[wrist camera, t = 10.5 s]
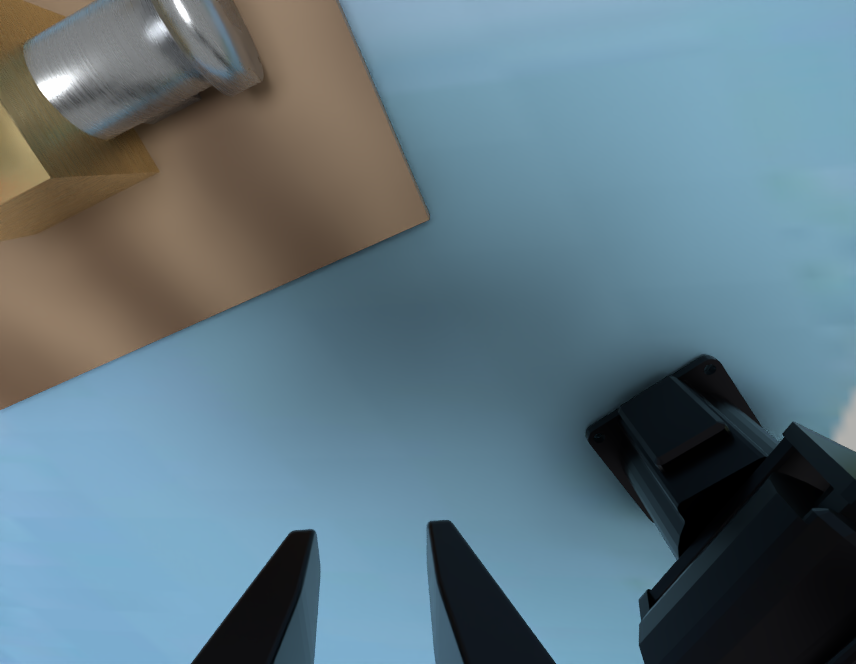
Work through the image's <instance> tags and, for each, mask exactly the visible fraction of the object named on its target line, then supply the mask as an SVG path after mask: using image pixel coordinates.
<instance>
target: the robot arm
mask: <svg viewBox="0 0 856 664" xmlns="http://www.w3.org/2000/svg"><path fill="white" fill-rule="evenodd" d="M710 364H711V367H710V369H709V370H707V371H704V368H705V367H706V366H707V365H710ZM598 433H602V435H601V436H600V437H599V438H594V436H595V435H596V434H598ZM782 435H783V436H784V438H783V439H782V441H781V442H778V441H777V440H776V439H775V438H774V437H772V436H771V435H770V434H769V433H768V432H766V431H765V430H764V429H763V428H762V426H761V425H760V423H759V421H758V420H757V418H756V417H755V415H754V414H753V412H752V411H751V409H750V408H749V406H748V404H747V403H746V401H745V400H744V398H743V397H742V395H741V394H740V392H739V391H738V389H737V387H736V386H735V384H734V383H733V381H732V380H731V378H730V377H729V375H728V374H727V372H726V370H725V369H724V367H723V366H722V364H721V363H720V362H719V361H718V360H717V359H715V358H714V357H712V356H709V355H707V356H702V357H700V358H698V359H697V360H695V361H693V362H692V363H690V364H689V365H687V366H685V367H684V368H682V369H681V370H679V371H677V372H676V373H674V374H673V375H671V376H669V377H666V378H664V379H663V380H661V381H660V382H658V383H656V384H655V385H653V386H652V387H650V388H648V389H647V390H645V391H644V392H642V393H640V394H639V395H637V396H636V397H634V398H632V399H631V400H629V401H628V402H626V403H625V404H623V405H621V406H620V408H618V409H617V410H615V411H614V412H612V413H610V414H609V415H607V416H606V417H604V418H603V419H601V420H599V421H598V422H596V423H595V424H593V425H591V426H590V427H589V428H588V429H587V431H586V438H587V440H588V442H589V443H590V445H591V446H592V447H593V449H594V450H595V451H596V452H597V454H598V455H599V456H600V457H601V459H602V460H603V461H604V463H605V464H606V465H607V466H608V468H609V469H610V470H611V471H612V473H613V474H614V475H615V476H616V478H617V479H618V480H619V481H620V483H621V484H622V485H623V486H624V488H625V489H626V490H627V492H628V493H629V494H630V495H631V497H632V498H633V499H634V500H635V502H636V503H637V504H638V505H639V507H640V508H641V509H642V510H643V512H644V513H645V514H646V516H647V517H648V518H649V519H650V521H652V522H653V523H655V525H656V526H657V528H658V530H659V531H660V533H661V535H662V536H663V538H664V540H665V541H666V543H667V545H668V546H669V548H670V550H671V551H672V553H673V555H674V556H675V558H676V560H677V561H676V562H675V563H674V564H673V566H672V567H671V568H670V569H669V570H668V571H667V573H666V574H665V575H664V576H663V577H662V578H661V579H660V581H659V582H658V583H657V584H656V585H655V586H654V587H653V589H652V590H650V589H648V590H646V592H645V593H644V594H643V595H642V596H641V597H640V599H639V607H640V616H641V622H640V624H639V647H640V650H641V654H642V657H643V660H644V664H856V452H855V451H852V450H850V449H848V448H847V447H845V446H842V445H840V444H838V443H836V442H834V441H832V440H830V439H828V438H826V437H824V436H822V435H820V434H818V433H816V432H814V431H812V430H810V429H808V428H806V427H804V426H802V425H800V424H798V423H796V422H792V423H791V424H790V426H789V427H788V428H787V429H786V430H785V431H784V432H783V434H782ZM427 571H428V584H429V596H430V608H431V620H432V632H433V644H434V654H435V662H436V664H556V663H555V662H554V660H553V659H552V657H551V656H550V655H549V653H548V652H547V651H546V649H545V648H544V647H543V645H542V644H541V643H540V641H539V640H538V638H537V637H536V636H535V634H534V633H533V632H532V630H531V629H530V628H529V626H528V625H527V624H526V622H525V621H524V619H523V618H522V617H521V615H520V614H519V613H518V611H517V610H516V609H515V607H514V606H513V605H512V603H511V602H510V600H509V599H508V598H507V596H506V595H505V594H504V592H503V591H502V590H501V588H500V587H499V585H498V584H497V583H496V581H495V580H494V579H493V577H492V576H491V575H490V573H489V572H488V571H487V569H486V568H485V566H484V565H483V564H482V562H481V561H480V560H479V558H478V557H477V556H476V554H475V553H474V552H473V550H472V549H471V547H470V546H469V545H468V543H467V542H466V541H465V539H464V538H463V537H462V535H461V534H460V533H459V531H458V530H457V528H456V527H455V526H454V524H453V523H452V522H451V521H449V520H438V521H430V522H428V524H427ZM319 587H320V559H319V550H318V542H317V534H316V532H315V531H314V530H313V529H308V530H294V531H292V532H290V533H289V534H288V536H287V537H286V538H285V540H284V541H283V542H282V544H281V545H280V546H279V548H278V549H277V550H276V552H275V553H274V554H273V556H272V557H271V558H270V560H269V561H268V562H267V564H266V565H265V566H264V567H263V569H262V570H261V571H260V573H259V574H258V575H257V577H256V578H255V579H254V581H253V582H252V583H251V585H250V586H249V587H248V589H247V590H246V591H245V593H244V594H243V595H242V597H241V598H240V599H239V601H238V602H237V603H236V605H235V606H234V607H233V609H232V610H231V611H230V613H229V614H228V615H227V617H226V618H225V619H224V621H223V622H222V623H221V625H220V626H219V627H218V629H217V630H216V631H215V632H214V634H213V635H212V636H211V638H210V639H209V640H208V642H207V643H206V644H205V646H204V647H203V648H202V650H201V651H200V652H199V654H198V655H197V656H196V658H195V659H194V660H193V662H192V663H191V664H314V656H315V642H316V628H317V615H318V601H319Z"/></svg>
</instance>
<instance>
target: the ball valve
mask: <svg viewBox="0 0 856 664" xmlns="http://www.w3.org/2000/svg"><path fill="white" fill-rule="evenodd" d="M263 77H264V74H263V68H262V64H261V60H260V57H259V54H258V52H257V49H256V47H255V44H254V42H253V40H252V37H251V35H250V33H249V31H248V29H247V27H246V25H245V23H244V21H243V19H242V17H241V15H240V13H239V11H238V9H237V8H236V6H235V4H234V2H233V0H95V1H93V2H91V3H90V4H88V5H86V6H85V7H83V8H81V9H79V10H78V11H76V12H74V13H73V14H71V15H69V16H67V17H66V16H63V15H60V14H58V13H55V12H52V11H50V10H47V9H44V8H42V7H39V6H36V5H34V4H31V3H29V2H26V1H23V0H0V242H1V241H6V240H11V239H16V238H21V237H26V236H31V235H36V234H38V233H40V232H42V231H44V230H46V229H48V228H50V227H52V226H54V225H56V224H58V223H60V222H62V221H64V220H66V219H68V218H70V217H72V216H74V215H76V214H78V213H80V212H82V211H84V210H86V209H88V208H90V207H92V206H93V205H95V204H97V203H99V202H101V201H103V200H105V199H107V198H109V197H111V196H113V195H115V194H117V193H119V192H121V191H123V190H125V189H127V188H129V187H131V186H133V185H135V184H137V183H139V182H141V181H143V180H145V179H147V178H149V177H151V176H153V175H155V174H157V173H159V172H160V171H159V170H158V168H157V166H156V165H155V163H154V161H153V160H152V158H151V156H150V154H149V153H148V151H147V149H146V148H145V146H144V144H143V143H142V141H141V139H140V138H139V136H138V134H137V133H136V131H135V129H134V128H133V127H135V126H137V125H139V124H141V123H145V124H153V125H154V124H155V123H157V122H159V121H161V120H163V119H165V118H167V117H169V116H171V115H173V114H174V113H176V112H178V111H180V110H182V109H184V108H186V107H188V106H190V105H192V104H193V103H195V102H197V101H199V100H201V99H202V98H201V96H200V94H199V92H201V91H203V90H205V89H207V88H209V87H211V86H213V87H214V88H216V89H217V90H218V91H220V92H221V93H223V94H224V95H227V96H230V97H232V96H235V95H237V94H239V93H241V92H242V91H244V90H246V89H248V88H250V87H252V86H254V85H256V84H258V83H260V82H262V80H263Z"/></svg>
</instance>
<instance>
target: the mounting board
mask: <svg viewBox="0 0 856 664" xmlns="http://www.w3.org/2000/svg"><path fill="white" fill-rule="evenodd" d="M23 1H26V2H29V3H31V4H34V5H36V6H39V7H42V8H44V9H47V10H50V11H52V12H55V13H58V14H60V15H63V16H66V17H67V16H69V15H71V14H73V13H74V12H76V11H78V10H79V9H81V8H83V7H85V6H86V5H88V4H90V3H91V2H93V1H95V0H23ZM233 2H234V4H235V6H236V8H237V9H238V11H239V13H240V15H241V17H242V19H243V21H244V23H245V25H246V27H247V29H248V31H249V33H250V35H251V37H252V40H253V42H254V44H255V47H256V49H257V52H258V54H259V57H260V60H261V64H262V68H263V74H264V77H263V80H262V82H260V83H258V84H256V85H254V86H252V87H250V88H248V89H246V90H244V91H242V92H241V93H239V94H237V95H235V96H232V97H230V96H227V95H224V94H223V93H221V92H220V91H218V90H217V89H216V88H214V87H213V86H211V87H209V88H207V89H205V90H203V91H201V92H199V94H200V96H201V98H202V99H201V100H199V101H197V102H195V103H193V104H192V105H190V106H188V107H186V108H184V109H182V110H180V111H178V112H176V113H174V114H173V115H171V116H169V117H167V118H165V119H163V120H161V121H159V122H157V123H155V124H154V125H153V124H145V123H141V124H139V125H137V126H135V127H133V128H134V129H135V131H136V133H137V134H138V136H139V138H140V139H141V141H142V143H143V144H144V146H145V148H146V149H147V151H148V153H149V154H150V156H151V158H152V160H153V161H154V163H155V165H156V166H157V168H158V170H159V171H160V172H159V173H157V174H155V175H153V176H151V177H149V178H147V179H145V180H143V181H141V182H139V183H137V184H135V185H133V186H131V187H129V188H127V189H125V190H123V191H121V192H119V193H117V194H115V195H113V196H111V197H109V198H107V199H105V200H103V201H101V202H99V203H97V204H95V205H93V206H92V207H90V208H88V209H86V210H84V211H82V212H80V213H78V214H76V215H74V216H72V217H70V218H68V219H66V220H64V221H62V222H60V223H58V224H56V225H54V226H52V227H50V228H48V229H46V230H44V231H42V232H40V233H38V234H36V235H31V236H26V237H21V238H16V239H11V240H6V241H1V242H0V410H1V409H4V408H6V407H8V406H11V405H13V404H15V403H17V402H20V401H22V400H24V399H26V398H29V397H31V396H33V395H35V394H38V393H40V392H42V391H44V390H47V389H49V388H51V387H53V386H56V385H58V384H60V383H62V382H65V381H67V380H69V379H71V378H74V377H76V376H78V375H80V374H83V373H85V372H87V371H89V370H92V369H94V368H96V367H98V366H101V365H103V364H105V363H107V362H110V361H112V360H114V359H116V358H119V357H121V356H123V355H125V354H128V353H130V352H132V351H135V350H137V349H139V348H141V347H144V346H146V345H148V344H150V343H153V342H155V341H157V340H159V339H162V338H164V337H166V336H168V335H171V334H173V333H175V332H177V331H180V330H182V329H184V328H186V327H189V326H191V325H193V324H195V323H198V322H200V321H202V320H204V319H207V318H209V317H211V316H213V315H216V314H218V313H220V312H222V311H225V310H227V309H229V308H231V307H234V306H236V305H238V304H240V303H243V302H245V301H247V300H249V299H252V298H254V297H256V296H259V295H261V294H263V293H265V292H268V291H270V290H272V289H274V288H277V287H279V286H281V285H283V284H286V283H288V282H290V281H292V280H295V279H297V278H299V277H301V276H304V275H306V274H308V273H310V272H313V271H315V270H317V269H319V268H322V267H324V266H326V265H328V264H331V263H333V262H335V261H337V260H340V259H342V258H344V257H346V256H349V255H351V254H353V253H355V252H358V251H360V250H362V249H364V248H367V247H369V246H371V245H373V244H376V243H378V242H380V241H383V240H385V239H387V238H389V237H392V236H394V235H396V234H398V233H401V232H403V231H405V230H407V229H410V228H412V227H414V226H416V225H419V224H421V223H423V222H425V221H428V220H429V219H430V214H429V212H428V209H427V207H426V205H425V202H424V200H423V198H422V195H421V193H420V191H419V188H418V186H417V184H416V181H415V179H414V176H413V174H412V172H411V169H410V167H409V165H408V162H407V160H406V158H405V155H404V153H403V151H402V148H401V146H400V144H399V141H398V139H397V137H396V134H395V132H394V129H393V127H392V125H391V122H390V120H389V118H388V115H387V113H386V111H385V108H384V106H383V104H382V101H381V99H380V97H379V94H378V92H377V90H376V87H375V85H374V83H373V80H372V78H371V75H370V73H369V71H368V68H367V66H366V64H365V61H364V59H363V57H362V54H361V52H360V50H359V47H358V45H357V43H356V40H355V38H354V36H353V33H352V31H351V28H350V26H349V24H348V21H347V19H346V17H345V14H344V12H343V10H342V7H341V5H340V3H339V0H233Z"/></svg>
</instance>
